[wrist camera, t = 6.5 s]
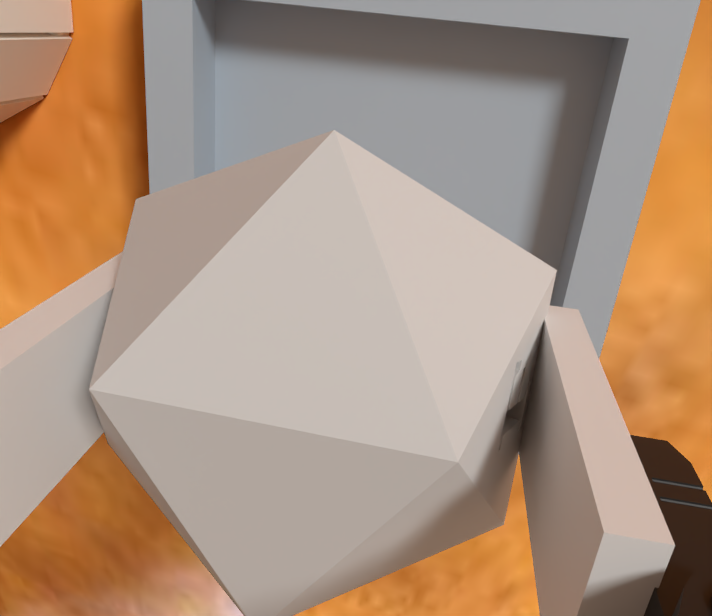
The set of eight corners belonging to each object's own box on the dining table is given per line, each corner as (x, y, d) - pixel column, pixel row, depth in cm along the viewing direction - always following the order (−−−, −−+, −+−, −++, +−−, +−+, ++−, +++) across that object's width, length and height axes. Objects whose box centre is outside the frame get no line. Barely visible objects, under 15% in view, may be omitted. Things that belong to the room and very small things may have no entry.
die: (370, 456, 20) (623, 686, 11) (56, 462, 16) (62, 826, 7) (418, 183, 19) (743, 199, 10) (91, 117, 15) (151, 47, 6)
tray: (187, 359, 28) (157, 394, 25) (180, -59, 21) (139, -72, 19) (558, 418, 26) (569, 462, 24) (672, -13, 20) (706, -20, 17)
